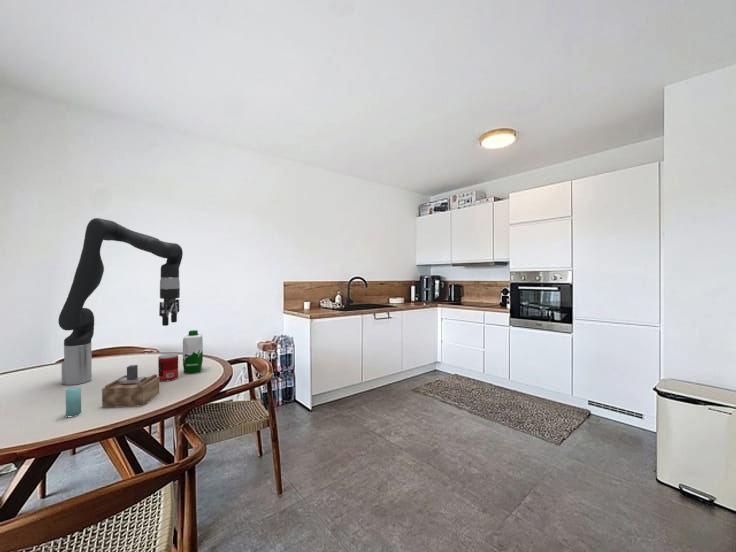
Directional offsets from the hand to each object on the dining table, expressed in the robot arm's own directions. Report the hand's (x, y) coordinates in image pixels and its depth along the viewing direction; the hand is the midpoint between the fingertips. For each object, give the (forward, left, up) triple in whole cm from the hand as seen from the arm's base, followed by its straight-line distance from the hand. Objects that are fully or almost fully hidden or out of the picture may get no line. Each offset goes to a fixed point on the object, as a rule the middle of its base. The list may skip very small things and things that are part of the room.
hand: (169, 323), depth 143 cm
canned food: (-4, +8, -27) cm, 28 cm away
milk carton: (+3, +18, -27) cm, 32 cm away
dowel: (-19, -28, -27) cm, 43 cm away
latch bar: (-6, -17, -20) cm, 27 cm away
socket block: (-6, -17, -27) cm, 33 cm away
